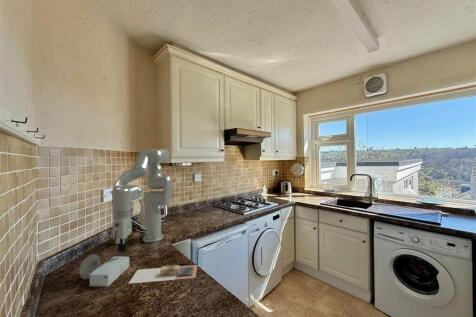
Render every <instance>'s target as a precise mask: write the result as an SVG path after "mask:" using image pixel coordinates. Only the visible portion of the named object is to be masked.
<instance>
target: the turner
mask: <svg viewBox="0 0 476 317" xmlns="http://www.w3.org/2000/svg"><path fill="white" fill-rule="evenodd" d="M160 268H161V269H160V276H169V275H177V277H180V276H192V274H193V268H194V267H185V268H180V264H177V265H176V264H175V265H166V266H165V265H161V267H160Z"/></svg>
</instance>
